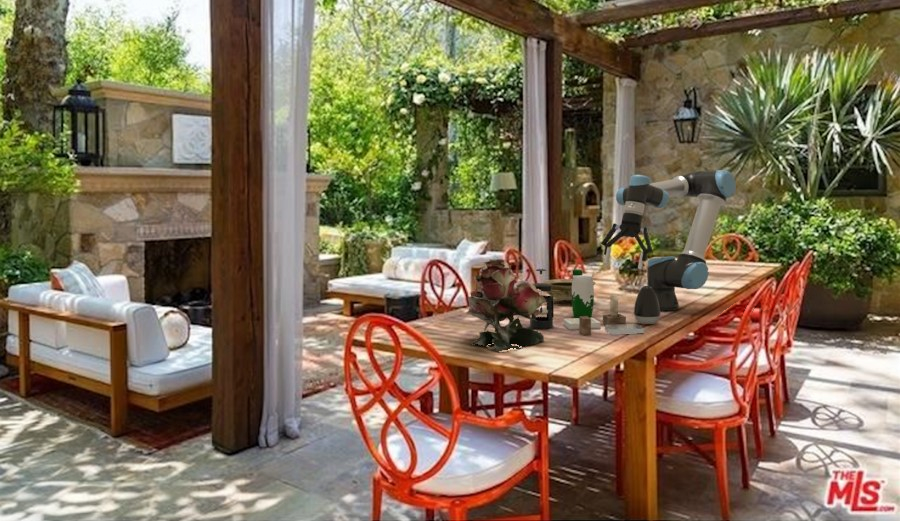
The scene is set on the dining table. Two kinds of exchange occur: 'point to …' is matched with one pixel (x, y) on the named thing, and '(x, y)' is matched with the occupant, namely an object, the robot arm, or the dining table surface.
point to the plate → (624, 329)
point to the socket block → (613, 319)
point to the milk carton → (582, 294)
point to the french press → (543, 321)
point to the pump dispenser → (647, 306)
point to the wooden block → (585, 325)
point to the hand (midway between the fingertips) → (622, 266)
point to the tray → (574, 323)
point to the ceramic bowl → (561, 289)
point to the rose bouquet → (504, 306)
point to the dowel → (613, 305)
